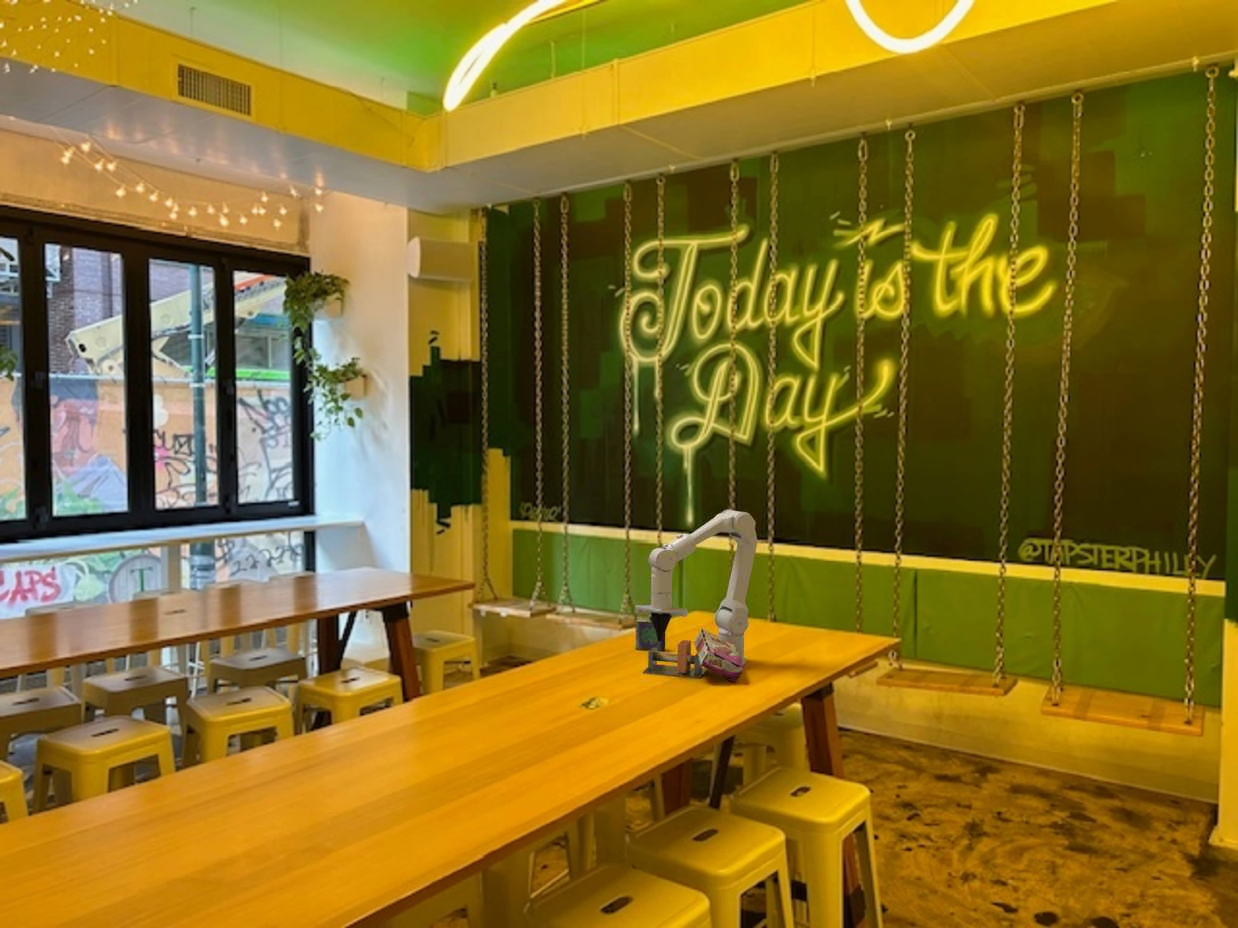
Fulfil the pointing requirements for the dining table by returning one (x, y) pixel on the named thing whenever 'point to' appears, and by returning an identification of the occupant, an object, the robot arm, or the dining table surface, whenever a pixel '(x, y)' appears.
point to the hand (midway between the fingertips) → (660, 640)
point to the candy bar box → (718, 655)
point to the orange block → (683, 656)
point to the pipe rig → (672, 670)
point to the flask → (647, 636)
